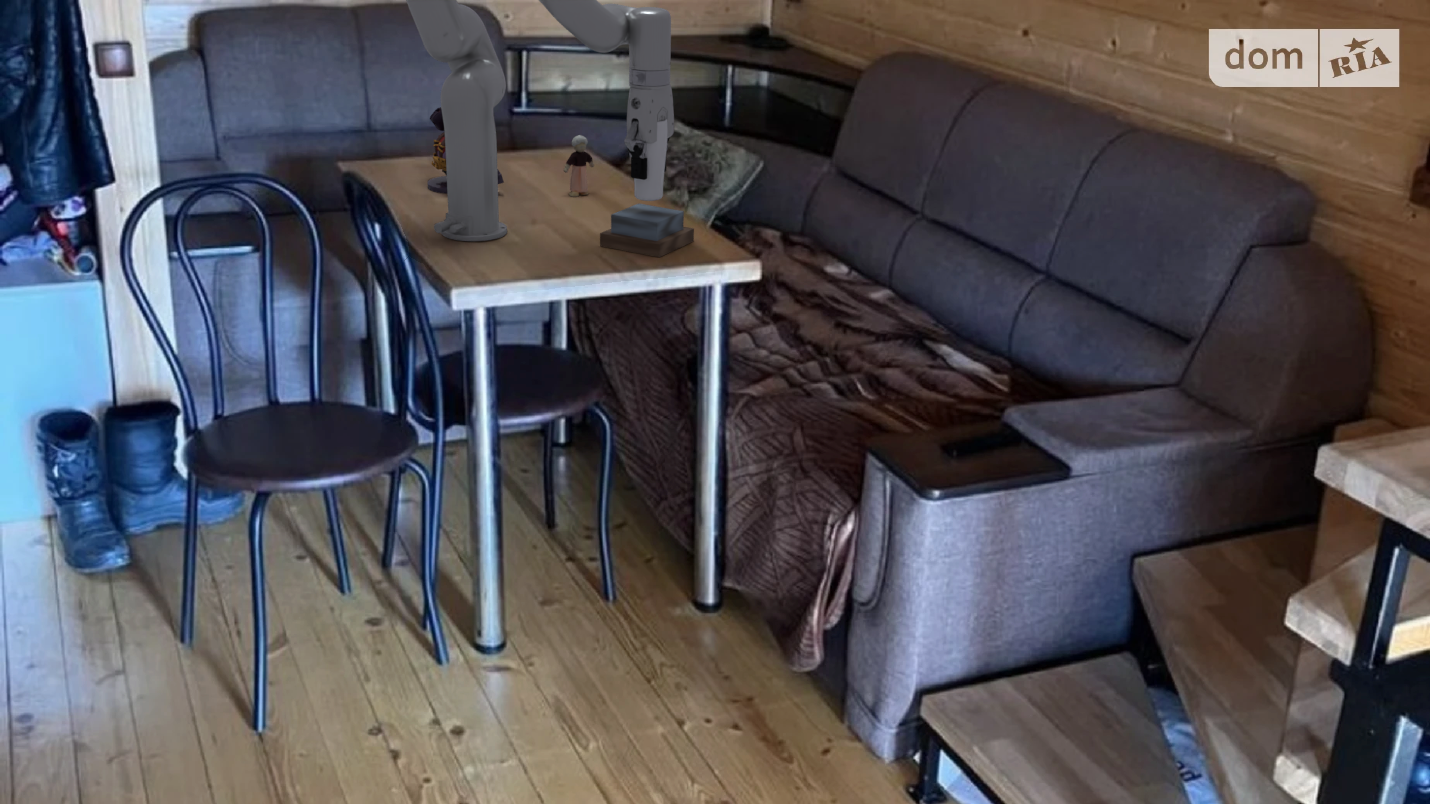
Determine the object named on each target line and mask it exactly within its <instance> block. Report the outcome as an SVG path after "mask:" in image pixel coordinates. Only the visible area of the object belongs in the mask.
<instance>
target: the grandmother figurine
mask: <svg viewBox="0 0 1430 804" xmlns="http://www.w3.org/2000/svg"><path fill="white" fill-rule="evenodd" d="M588 142H589V141H588V139H587V137H585V136H584V135H582V134H579V135H576V136H574V137H573V138H572V141H571V146H572V147H573V149H574V150H575V151H574V152H573V151H572V153H571V154H570V156H569V157H568V158H567V160H566V162H565V165H564V168H563V172H564V173H568V172H569V169H570V167H572V169H571V174H570V179H569V180H570V181H569V182H570V183H569V191H570V192H569V193H568V195H569V196H570V197H573V198H574V197H575V198H576V197H580V196H587V195H589V191H588V175H587V163H588V164H589V168H594V167H595V163H594V161H593V157H592V156H591V154H590V153H589V152H586V148H587V144H588Z"/></svg>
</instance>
